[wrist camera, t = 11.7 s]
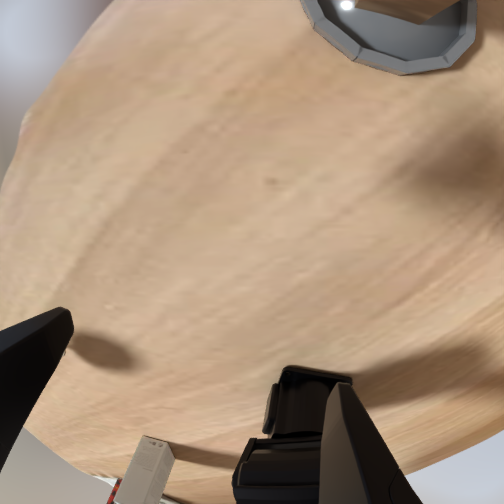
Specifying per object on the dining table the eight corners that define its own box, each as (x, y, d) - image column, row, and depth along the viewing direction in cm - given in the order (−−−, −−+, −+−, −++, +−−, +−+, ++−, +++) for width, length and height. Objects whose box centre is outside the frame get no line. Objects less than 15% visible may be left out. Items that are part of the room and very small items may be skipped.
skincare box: (141, 434, 38) (111, 500, 27) (168, 441, 37) (141, 511, 27) (151, 452, 40) (126, 512, 30) (176, 459, 40) (153, 522, 29)
